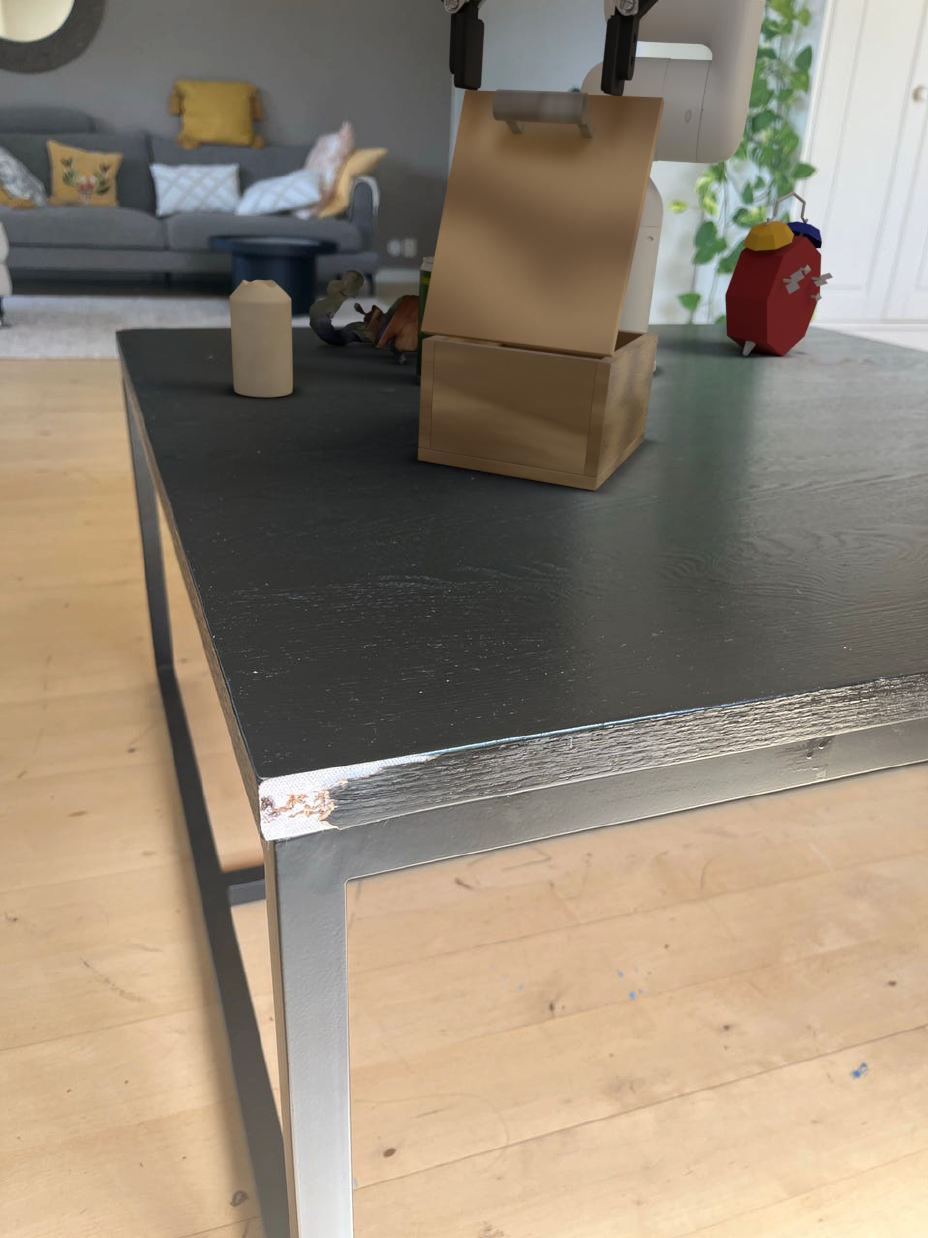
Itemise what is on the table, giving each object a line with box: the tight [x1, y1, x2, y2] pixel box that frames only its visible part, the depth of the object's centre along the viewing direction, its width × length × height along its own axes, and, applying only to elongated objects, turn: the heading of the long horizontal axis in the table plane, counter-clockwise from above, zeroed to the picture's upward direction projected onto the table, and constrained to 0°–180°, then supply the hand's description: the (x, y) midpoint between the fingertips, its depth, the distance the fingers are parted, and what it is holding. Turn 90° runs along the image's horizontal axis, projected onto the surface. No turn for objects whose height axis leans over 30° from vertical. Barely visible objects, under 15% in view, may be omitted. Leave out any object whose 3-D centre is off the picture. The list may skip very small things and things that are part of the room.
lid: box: [421, 88, 665, 358], centre depth 63 cm, size 17×14×5 cm
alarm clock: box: [724, 190, 834, 357], centre depth 124 cm, size 15×9×20 cm, turn 136°
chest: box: [417, 329, 659, 492], centre depth 75 cm, size 16×14×9 cm
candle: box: [229, 279, 294, 398], centre depth 88 cm, size 6×6×10 cm
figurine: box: [308, 269, 419, 365], centre depth 110 cm, size 15×9×13 cm
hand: (537, 91), depth 60 cm, fingers open, 9 cm apart
